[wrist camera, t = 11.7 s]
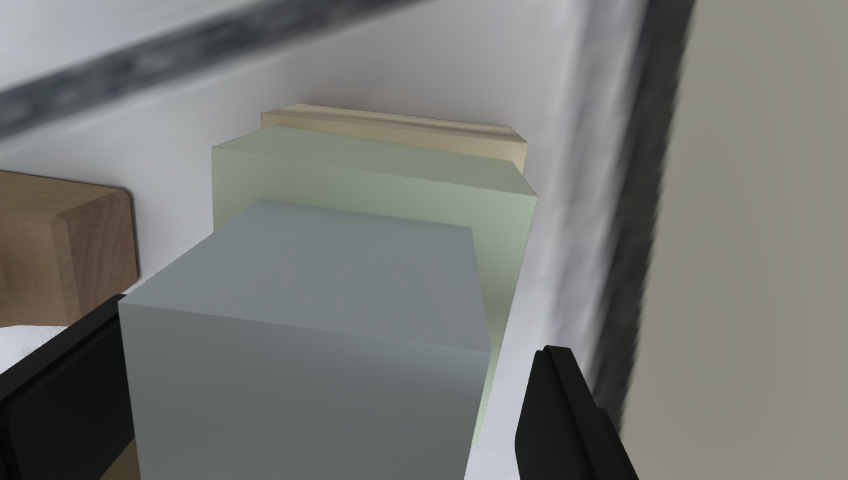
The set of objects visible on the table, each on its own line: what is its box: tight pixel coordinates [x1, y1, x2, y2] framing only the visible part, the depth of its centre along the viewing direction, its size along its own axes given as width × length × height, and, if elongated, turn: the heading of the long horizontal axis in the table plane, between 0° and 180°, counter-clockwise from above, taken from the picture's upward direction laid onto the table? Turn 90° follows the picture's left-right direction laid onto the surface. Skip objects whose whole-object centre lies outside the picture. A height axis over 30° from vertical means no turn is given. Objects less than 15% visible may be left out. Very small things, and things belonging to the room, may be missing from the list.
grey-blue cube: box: [118, 199, 491, 480], centre depth 11 cm, size 6×6×6 cm
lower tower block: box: [261, 104, 528, 175], centre depth 21 cm, size 10×10×5 cm
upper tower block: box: [212, 125, 538, 446], centre depth 16 cm, size 9×9×5 cm
